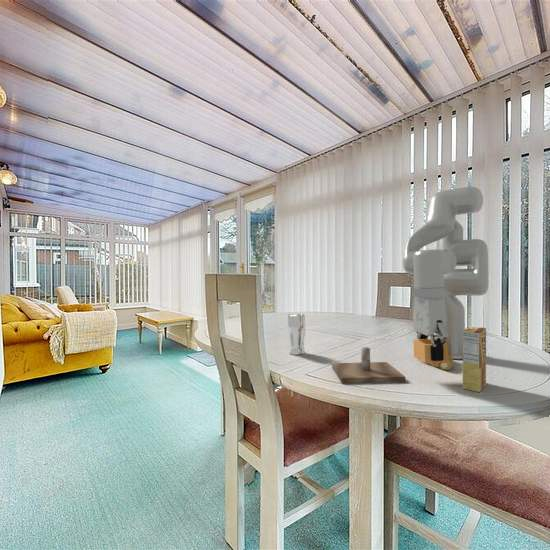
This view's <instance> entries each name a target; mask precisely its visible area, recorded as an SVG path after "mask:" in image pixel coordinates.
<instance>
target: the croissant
mask: <svg viewBox="0 0 550 550" xmlns="http://www.w3.org/2000/svg"><path fill="white" fill-rule="evenodd" d="M425 364H427V365H430V366H432V367H435V368H438V369H439V368H440V369H441V370H445V371H447V370H451V369H452V368H453V366H454V359H452V356H451V354H450V353H449V351H448V362H444V363H425Z"/></svg>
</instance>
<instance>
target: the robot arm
mask: <svg viewBox="0 0 550 550" xmlns="http://www.w3.org/2000/svg"><path fill="white" fill-rule="evenodd" d="M483 204H484V195H483V192H482V190H481V189H480V188H478V187H476V186H465V187H457V188H453V189H446V190H442V191H438V192H436V193H433V195H432V196H431V197H430V198H429V200H428V202H427V207H428V208H427V212H426V217H425V223H424V224H423V226H421V227H420V228H419V229H417V230H416V231H415V232H414V233H413V234H412V235H411V236H410V237H409V238H408V240H407V241H406V245H405V248H404V253H403V259H402V266H403V270H404V271H405V272H406V273H407V274H408V275H413V291H414V292H413V293H414V294H413V295H414V296H413V298H414V300H413V308H412V328H413V330H414V331H415V332H416V334H417V335H416V338H417V339H431V342H432V346H431V360H432V361H443V360H444V351H443V347H444V343H446V344H448V351H449V353H450V354H451V356H452V359H453V360H463V331H464V330H465V329H466V327H465V325H466V320H465V317H466V316H465V311H466V310H465V306H464V304H463V303H462V302H461V300H459V298H458V297H457V296H471V297H472V296H475V297H477V296H483V295H485V294H487V293H488V291H489V250H488V249H489V248H488V246H487V243H486V242H485V240H483V239H480V238H479V239H478V238H472V239H464V228H463V226H462V224H461V223H460V222H459V221H458V220H456V216H457V215H458V216H459V215H465V214H467V215H468V214H474V213H478V212H480V211H481V210H482V208H483ZM435 242H436V249H423V248H424V247H426V246H428V245H431V244H432V243H435ZM468 266H469V267H472V268H457V267H468ZM429 337H430V338H429ZM435 339H437V340H436V341H435Z"/></svg>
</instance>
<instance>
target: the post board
mask: <svg viewBox="0 0 550 550" xmlns="http://www.w3.org/2000/svg"><path fill="white" fill-rule="evenodd" d="M360 358H361V359H360V361H361V362H332V363H331V368H332V370H333V372H334V373H335V376H337V379H338V380H339V382H340V383H341V384H367V383H368V384H370V383H371V384H372V383H373V384H374V383H377V382H382V383H406V376H405V375H404V374H403V373H401V372H400V371H399V370H398V369H397V368H395V367H394V366H392V365H391V364H390V363H389V362H387V361H379V362H377V361H376V362H373V361H371V348H370V347H369V346H363V347H361V348H360Z"/></svg>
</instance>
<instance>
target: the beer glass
mask: <svg viewBox="0 0 550 550" xmlns="http://www.w3.org/2000/svg"><path fill="white" fill-rule="evenodd" d="M287 333H288V338H289V339H288V340H289V346H290V347H289V350H288V351H289V353H288V354H289V355H293V356H302V355H301V354H303V355H305V354H304V353H306V351H305V346H304V345H305V343H304V342H305V335H306V316H305V314H303V313H289V314H287Z"/></svg>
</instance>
